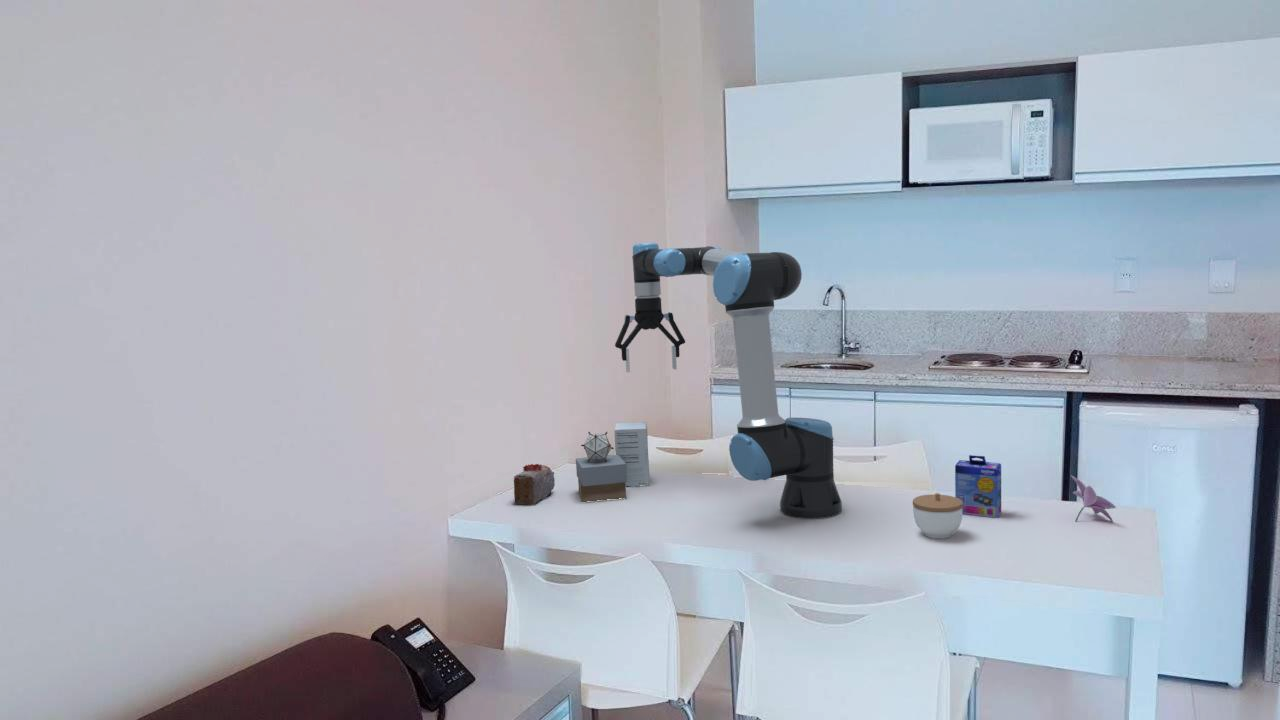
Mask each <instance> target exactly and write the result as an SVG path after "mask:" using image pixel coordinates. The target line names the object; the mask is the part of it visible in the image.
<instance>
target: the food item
mask: <svg viewBox="0 0 1280 720" xmlns="http://www.w3.org/2000/svg"><path fill="white" fill-rule="evenodd" d="M555 480H556V479H555V472H554V471H552V470H551V467H549V466H548V465H544V464H539V463H538V464H537V463H535V464H533V463H531V464H525V465H524V466H522V472H520V473H518V474H516V475H514V476H513V489H514V490H513V494H514V496H513V497H514V504H515V505H519V506H535V505H536V503H538V502H539V501H544V500H546V499H547V497H548V495H550V494H551V493H552V491H553V490H554V487H555Z"/></svg>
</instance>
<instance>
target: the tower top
mask: <svg viewBox="0 0 1280 720" xmlns="http://www.w3.org/2000/svg"><path fill="white" fill-rule="evenodd" d="M588 459H589V458H588V456H586V457H576V458H575V465H576V466H575V467H576V477H577V480H578V479H579V480H580V482H581V484H582V485H583V486H592V485H602V484H612V483H622V482H627V472H626V463H625V462H624V461H623V460H622V459H621V457H620V456H619V455H618V454H617V455H616V454H610V455H609V454H608V455H607V457H606V460H607V462H605V460H590V461H589V462H588V461H587V460H588Z"/></svg>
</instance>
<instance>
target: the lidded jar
mask: <svg viewBox="0 0 1280 720" xmlns="http://www.w3.org/2000/svg"><path fill="white" fill-rule="evenodd" d="M912 506H913V510H912V511H913V517H914V522H915V524H916V526H917V528H919V530H920V531H921V532H923V535H924V536H926V537H927V538H931V539H948V538H951V537H953V534H954V533H956V532H957V531H958V529H959V528H960V527H961V524H962V520H963V514H962V507H963V501H962V500H961V499H959V498H956V497H955V496H953V495H948V494H947V495H945V494H940V493H939V492H937V493H935V494H923V495H919V496H916V497H914V498H913V499H912Z"/></svg>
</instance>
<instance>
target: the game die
mask: <svg viewBox="0 0 1280 720" xmlns="http://www.w3.org/2000/svg"><path fill="white" fill-rule="evenodd" d="M587 433H588V437H587V438H586V440H585V442H584V444H580V446H581V447H583V449H584V451H585V453H586V455H587V456H586V457H588V458H589V459H588V460H587V461H588V462H589V461H590V460H605V462H607V460H606V457H607V455H609V453H610V451H611V450H614V448H615V447H613V446H612V444H611V443H610V440H609V438H608V436H607V434H608V431H606V432H605V433H591V431H588V432H587Z"/></svg>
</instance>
